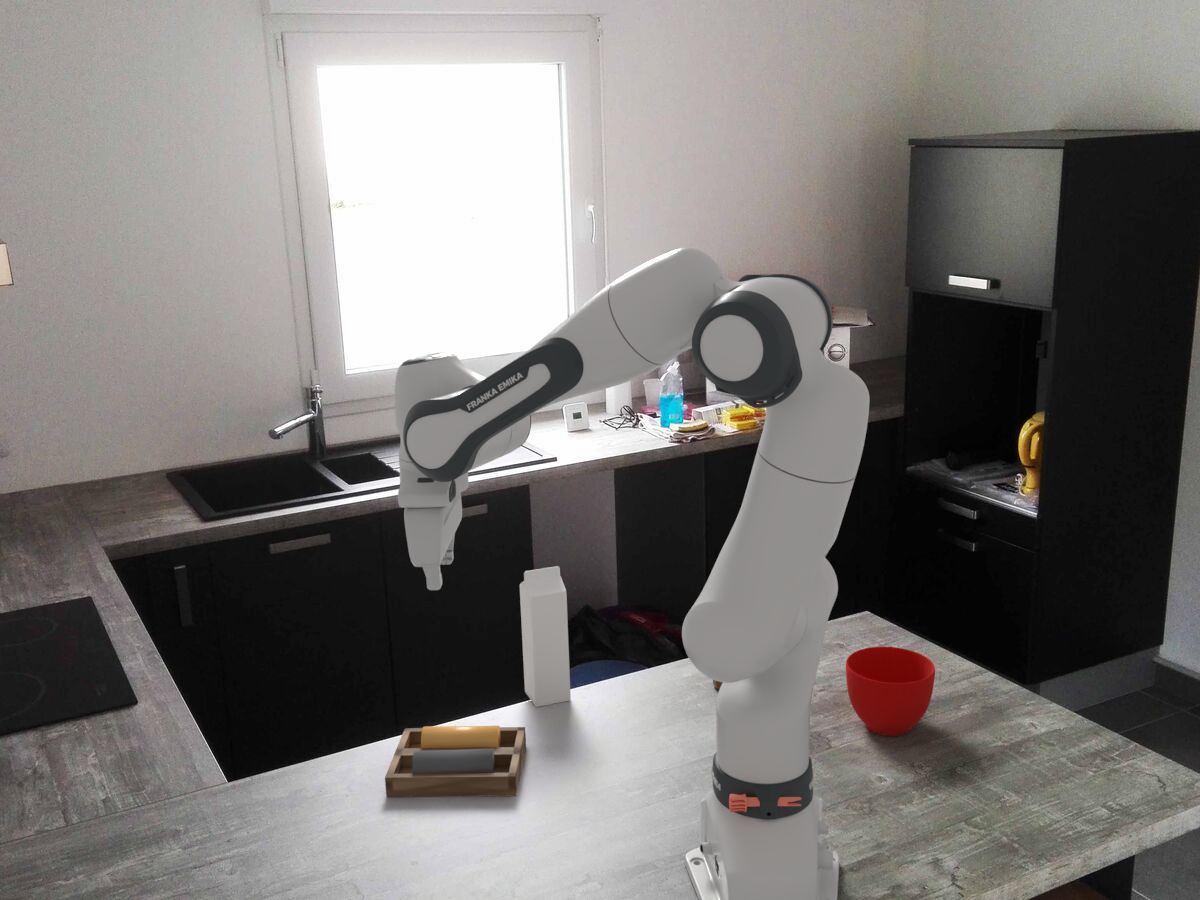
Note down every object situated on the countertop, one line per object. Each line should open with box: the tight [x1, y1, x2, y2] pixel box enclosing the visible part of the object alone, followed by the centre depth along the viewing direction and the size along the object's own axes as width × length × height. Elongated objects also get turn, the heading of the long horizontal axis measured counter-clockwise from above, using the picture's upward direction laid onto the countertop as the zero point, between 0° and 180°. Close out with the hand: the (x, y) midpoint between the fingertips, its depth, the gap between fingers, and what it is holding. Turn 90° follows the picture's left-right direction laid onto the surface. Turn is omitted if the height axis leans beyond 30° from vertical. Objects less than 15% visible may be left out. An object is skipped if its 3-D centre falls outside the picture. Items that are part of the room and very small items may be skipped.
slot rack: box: [384, 726, 527, 798], centre depth 167 cm, size 14×18×3 cm
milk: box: [519, 565, 572, 708], centre depth 186 cm, size 6×6×22 cm
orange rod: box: [421, 725, 501, 748], centre depth 169 cm, size 11×4×4 cm
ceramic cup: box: [845, 645, 936, 737], centre depth 177 cm, size 13×17×10 cm
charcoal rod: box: [412, 748, 494, 774], centre depth 163 cm, size 11×4×4 cm, turn 91°
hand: (441, 575), depth 156 cm, fingers open, 8 cm apart
